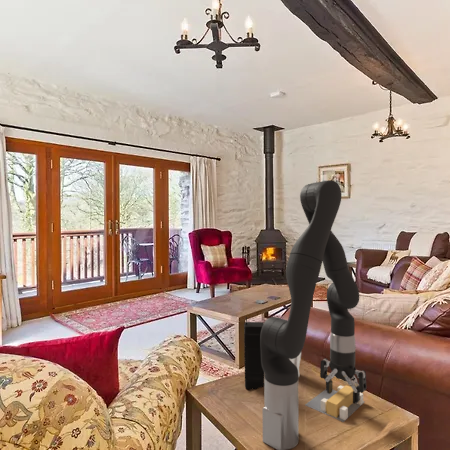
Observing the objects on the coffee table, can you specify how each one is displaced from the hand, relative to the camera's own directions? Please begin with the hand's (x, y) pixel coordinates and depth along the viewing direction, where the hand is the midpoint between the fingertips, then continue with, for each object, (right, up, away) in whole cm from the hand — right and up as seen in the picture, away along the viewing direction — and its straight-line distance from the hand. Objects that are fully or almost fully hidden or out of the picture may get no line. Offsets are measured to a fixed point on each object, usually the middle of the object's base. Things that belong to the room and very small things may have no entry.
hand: (342, 397), depth 110 cm
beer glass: (-12, -3, +22) cm, 25 cm away
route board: (-2, -4, +2) cm, 5 cm away
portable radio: (-26, -4, +16) cm, 31 cm away
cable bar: (0, -3, 0) cm, 3 cm away
